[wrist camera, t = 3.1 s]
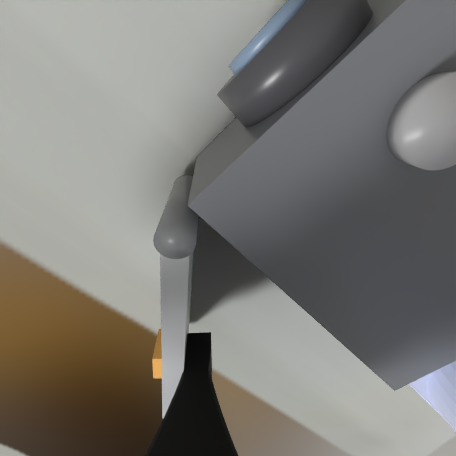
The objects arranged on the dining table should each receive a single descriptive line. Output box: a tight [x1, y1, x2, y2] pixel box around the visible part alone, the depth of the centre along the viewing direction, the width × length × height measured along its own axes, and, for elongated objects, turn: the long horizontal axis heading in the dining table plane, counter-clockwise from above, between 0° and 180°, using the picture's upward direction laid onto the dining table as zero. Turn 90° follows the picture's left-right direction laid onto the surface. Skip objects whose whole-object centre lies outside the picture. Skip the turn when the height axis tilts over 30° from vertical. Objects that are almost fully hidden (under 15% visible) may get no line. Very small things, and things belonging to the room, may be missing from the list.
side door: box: [153, 175, 199, 419], centre depth 9 cm, size 8×1×4 cm, turn 174°
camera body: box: [188, 0, 456, 391], centre depth 8 cm, size 11×6×5 cm, turn 43°
